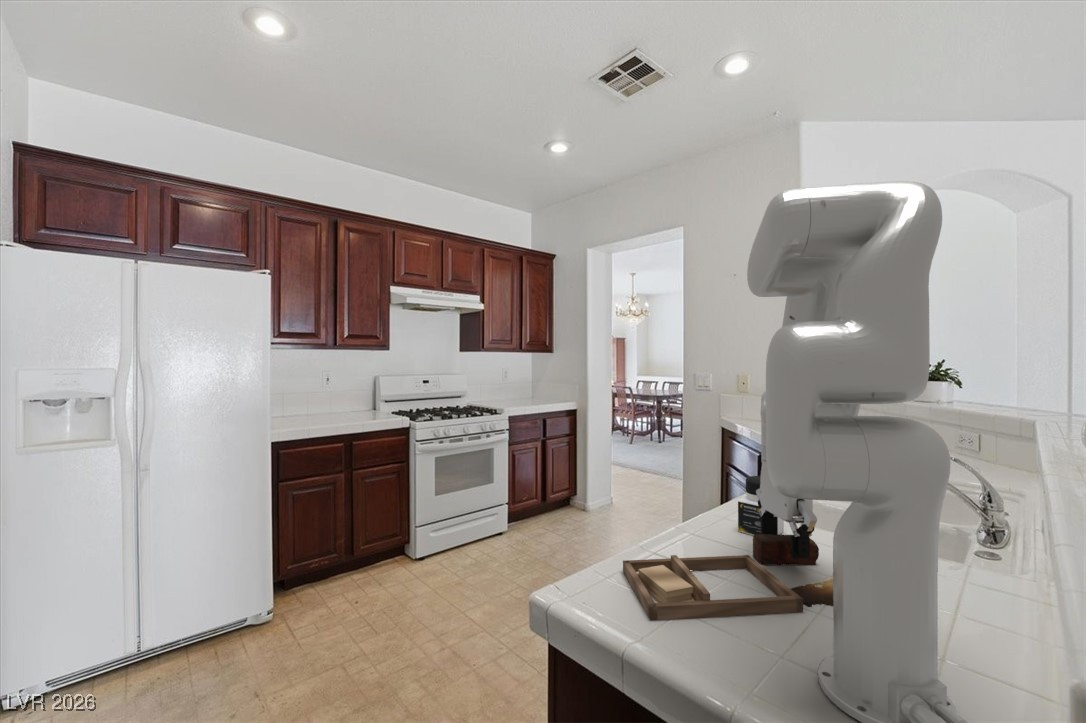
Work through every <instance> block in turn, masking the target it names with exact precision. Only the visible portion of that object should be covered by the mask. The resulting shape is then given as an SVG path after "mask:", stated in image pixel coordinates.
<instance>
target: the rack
mask: <svg viewBox="0 0 1086 723" xmlns="http://www.w3.org/2000/svg"><path fill="white" fill-rule="evenodd" d="M659 565H664V566H665V567H666V568H668V569H669V570H671V571H672V572H673V573H675V574H676V575H678V576H679V577H680V578H682V579H683V580H685V581H686V582H687V583H689V584H690V585H692V586H693V593H691V597H692V598H693V599H694V600H695V601H685V602H666V603H659V602H655V601H654V598H653V597H652V596H651V595H650V594H649V593H648V591H647V589H646V588H645V586H644V585H643V583H642V581H641V580H640V578H639V577H638V575H637V573H636V572H638V569H642V568H648V567H654V566H659ZM717 569H719V570H717ZM720 569H726V570H743V569H745V570H747V571H748V572H749V573H750V572H751V573H750V574H752V575H753V576H754V577H755V578H756V579H758V581H760V582H761V583H762V584H764V586H765V587H767V589H768V590H770V591H771V592H772V593H773V594H775V595H776V596H767V597H747V598H746V597H744V598H725V599H711V593H710V591H709V590H708V589H707V588H706V587H705V586H704V584H703V583H701V581H700V580H699V579H698V578H697V577H696V576H695V574H694V573H693V571H690V570H704V571H721V570H720ZM622 572H624V573H623V574H624V576H625V578H626V580H627V581H628V583H629V585H630V586H631V589H632V590H633V592H634V594H635V595H636V597H637V599H638V601H639V602H640V604H641V606H642V608H643V610H644V611H645V613H646V615H647V617H648V618H649V620H650V621H666V620H683V619H703V618H704V619H705V618H721V617H737V616H738V617H739V616H740V617H741V616H756V615H773V614H774V615H776V614H793V613H804V602H803V598H801V597H800V596H799V595H798V594H796V593H795V592H794V591H793V590H791V587H789V586H788V585H787V584H785V583H784V582H783V581H781V580H780V579H779V578H777V577H776V576H775V575H774V574H773V573H771V572H770V571H768V569H766V567H764V565H761V564H760V563H759V562H758V561H757V560H756V559H755V558H753V557H752V556H750V555H749V554H745V555H744V554H743V555H742V554H739V555H723V556H722V555H721V556H720V555H719V556H700V557H698V556H696V557H678V556H677V554H674V555H673V554H671V555H670V558H656V559H652V558H651V559H629V560H628V559H627V560H622Z"/></svg>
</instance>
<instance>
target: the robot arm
mask: <svg viewBox="0 0 1086 723" xmlns="http://www.w3.org/2000/svg"><path fill="white" fill-rule="evenodd" d="M763 214H764V215H763V216H762V219H761V222H760V225H759V227H758V230H757V233H756V235H755V238H754V241H753V243H752V246H751V249H750V253H749V258H748V263H747V269H746V271H747V272H746V274H747V275H746V276H747V285H748V289H749V290H750V292H751V293H752V295H755V296H756V297H760V298H773V297H774V298H775V297H779V298H780V297H786V299H785V307H784V313H783V318H782V325H781V327H780V328H779V329H778V330H777V331H775V332H774V334H773V335H772V338H771V341H770V342H769V345H768V350H767V354H766V362H765V391H764V392H763V393H762V394H761V397H760V398H761V399H760V400H761V401H760V419H761V420H760V422H761V423H760V424H761V425H760V426H761V428H760V429H761V431H760V432H761V434H760V435H761V436H760V438H761V439H760V440H761V446H760V447H761V453H760V454H761V460H760V461H761V469H760V476H761V479H760V489H757V490H756V494H757V498H758V505H759V508H760V511H759V514H760V516H763V517H761V534H772V535H778V517H779V518H781V519H782V520H784V522H786V523H788V526H789V527H790V530H791V532H792V534H790V535H791V557H792V558H794V559H799V558H809V557H810V539H811V537H812V536H813V534H812V533H813V532H814V531H815V527H816V524H817V522H818V518H817V516H816V514H815V513H814V504H813V502H814V501H830V502H831V501H833V502H851V503H850V504H849V506H848V507H847V508H846V509H845V511H844V512H843V514H841V517H840V519H839V520H838V522H837V524H836V526H835V529H834V533H833V539H832V540H833V542H832V543H833V546H832V548H833V550H832V560H833V561H832V572H833V573H832V576H833V606H832V608H833V610H832V613H833V614H832V616H833V618H832V620H833V624H832V625H833V626H832V627H833V635H832V636H833V637H832V638H833V639H832V640H833V642H832V643H833V644H832V645H833V650H832V651H833V655H830V656H828V657H826V658H824V659H823V660H822V661H821V662H820V663H819V665H818V667H817V668H818V670H817V672H818V673H817V674H818V675H817V676H818V678H817V679H818V682H819V685H820V688H821V689H822V691H823V693H824V694H825V695H826V696H827V698H828V699H829V700H830V701H831V702H832V703H833V704H834V705H835V706H836V707H838V708H839V709H840V710H841V711H842V712H844V713H845V714H847V715H848V716H849V717H852V718H853V719H855V720H857V721H859V723H969V722H968V721H967V720H965V719H964V718H963V717H962V716H960V715H959V714H958V712H957V708H956V706H955V704H954V703H953V701H952V699H950V697H949V696H948V691H947V689H948V687H947V685H946V684H945V683H944V682H941V681H940V680H939V679H938V678H939V677H938V676H939V674H938V672H939V669H938V668H939V667H938V664H939V661H938V660H939V658H938V656H939V655H938V654H939V652H938V650H939V648H938V645H939V644H938V643H939V642H938V640H939V639H938V638H939V636H938V635H939V633H938V632H939V631H938V630H939V629H938V627H939V625H938V620H939V619H938V618H939V617H938V616H939V615H938V614H939V613H938V609H939V608H938V606H939V605H938V603H939V601H938V591H939V589H938V585H939V584H938V578H939V577H938V573H939V534H940V522H941V517H942V516H941V515H942V510H943V509H942V508H943V506H944V500H945V496H946V493H947V489H948V485H949V484H948V483H949V479H950V474H951V455H950V451H949V448H948V445H947V443H946V442H945V440H944V439H943V437H942V436H941V435H940V434H939V433H938V432H937V430H935V429H934V428H932V427H930V426H929V425H927V424H925V423H923V422H920V421H917V420H914V419H911V418H905V417H901V416H900V417H899V416H887V415H859V412H860V408H861V405H878V404H879V405H884V404H885V405H888V404H902V403H903V404H904V403H907V402H911V401H913V400H915V399H917V398H919V397H920V396H921V395H922V394H923V393H924V391H925V390H926V388H927V385H928V382H929V378H930V357H931V356H930V355H931V354H930V346H931V344H930V291H929V290H930V287H929V286H930V284H929V283H930V273H931V268H932V262H933V259H934V255H935V253H936V250H937V246H938V243H939V239H940V235H941V232H942V226H943V209H942V203H941V200H940V198H939V196H938V195H937V193H936V191H934V190H933V189H932V188H931V187H930V185H929V186H928V185H927V184H925V183H923V182H922V183H921V182H918V181H917V182H916V181H908V180H907V181H905V180H904V181H903V180H899V181H878V182H877V181H876V182H874V181H873V182H860V183H849V184H842V185H841V184H840V185H827V186H812V187H801V188H792V189H787V190H784V191H781V192H779V193H778V194H776V195H775V196H773V198H772V199H771V200H770V202H769V203H768V204H767V207H766V209H765V212H764V213H763ZM776 516H777V517H776ZM797 524H800V526H799V527H798V525H797Z"/></svg>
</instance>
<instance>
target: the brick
mask: <svg viewBox="0 0 1086 723" xmlns="http://www.w3.org/2000/svg"><path fill="white" fill-rule="evenodd" d="M791 535H792V534H779V535H772V534H756V535H754V536H753V535H752V558H753V559H754V560H755V561H756V562H757V563H759V564H760V565H761V566H815V565H816V563H817V560H818V559H819V556H820V555H819V554H820V552H819V551H820V549H819V546H818V544H817V543H816V542H815V541H814V539H811V538H810V557H809V558H799V559H794V558H792V557H791Z"/></svg>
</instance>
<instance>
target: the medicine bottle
mask: <svg viewBox="0 0 1086 723" xmlns="http://www.w3.org/2000/svg"><path fill="white" fill-rule="evenodd" d="M760 479H761V475H750V476H748V477H746V479H745V495H746V496H744V497H742V498H740V499H738V500H737V531H738V532H739V533H741V532H742V534H746V535H749V536H752V537H753V536H754V535H756V534H761V517H763V516H760V514H759V511H760V508H759V505H758V498H757V494H756V490H757V489H760ZM776 517H777V516H776ZM784 522H785V521H784V520H782V519H781V518H779V517H778V535H782V533H784V530H785V529H784V528H785V526H784V525H785V524H784Z"/></svg>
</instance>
